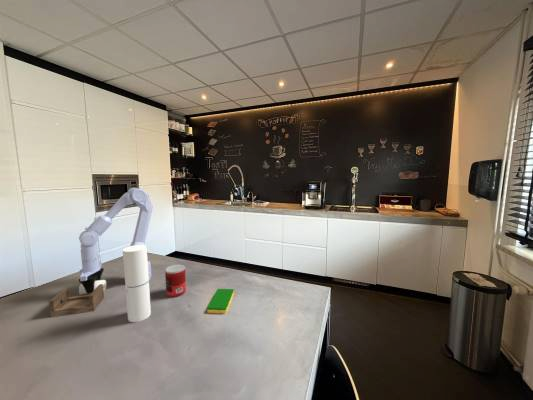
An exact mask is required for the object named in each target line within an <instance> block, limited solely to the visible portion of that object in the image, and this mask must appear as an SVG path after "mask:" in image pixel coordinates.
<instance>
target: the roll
mask: <svg viewBox="0 0 533 400" xmlns="http://www.w3.org/2000/svg"><path fill="white" fill-rule="evenodd" d="M99 284H103V290H104V292H105V291H106V289H107V281H106V279H101V280H98V281H95V283H94V290H95V289H96V288H97V287H98V285H99ZM78 293H79V296H83V295H90V294H91V293H88V294H87V292H86V290H85V288H84V286H83V285H82V284H81V283H80V285H79V287H78Z"/></svg>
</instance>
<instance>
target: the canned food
mask: <svg viewBox="0 0 533 400" xmlns="http://www.w3.org/2000/svg"><path fill="white" fill-rule="evenodd" d="M164 272H165V273H164V274H165V275H164V276H165V290H166V295H167V297H169V298H177V297H179V296H183V295H184V294H185V292H186V290H187V282H186V279H187V278H186V267H185V265H184V264H172V265H170V266H168V267H166V268H165V269H164Z"/></svg>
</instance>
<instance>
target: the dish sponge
mask: <svg viewBox="0 0 533 400" xmlns="http://www.w3.org/2000/svg"><path fill="white" fill-rule="evenodd" d="M234 295H235V289H234V288H217V289H216V291H215V293H214V295H213V297H212V299H211V300H210V302H209V304H208V306H207V307H206V309H207V310H206V311H207V314H220V315H221V314H222V315H223V314H225V315H226V314H227V312H228V310H229V308H230V306H231V303H232V300H233V297H234Z"/></svg>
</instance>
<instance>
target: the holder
mask: <svg viewBox="0 0 533 400" xmlns="http://www.w3.org/2000/svg"><path fill="white" fill-rule="evenodd" d="M104 299H105V291H104V290H103V284H99V285H98V287H97V288H96V289H95V290H94V291H93V292H92V293H91V294H84V295H75V296H70V295H69V289H68V287H67V288H63V289H62V290H60V292H59V293H57V294H55V295H54V296H53V297H52V298H51V299H49V301H48V303H49V312H50V318H54V317H62V316H68V315H75V314H82V313H88V312H95V310H96V309H97V307H98V306H99V305H100V304H101V303H102V301H103V300H104Z"/></svg>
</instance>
